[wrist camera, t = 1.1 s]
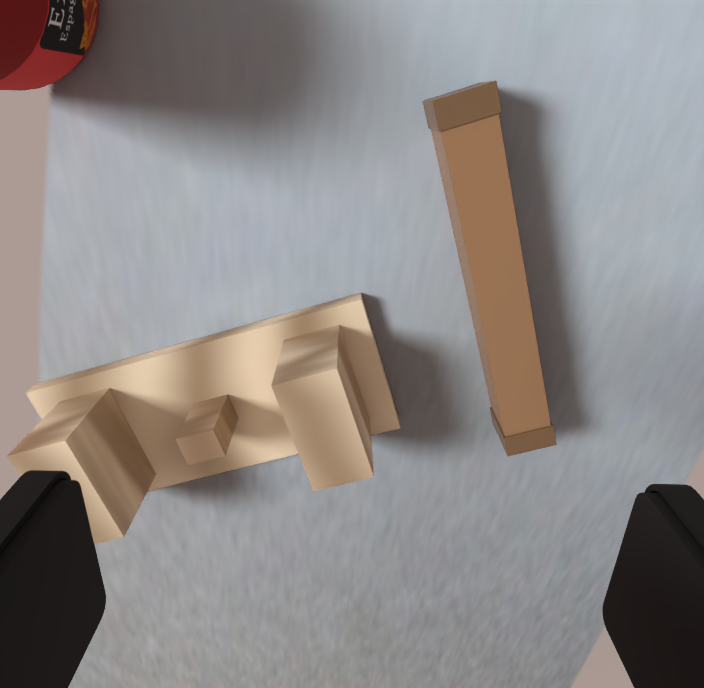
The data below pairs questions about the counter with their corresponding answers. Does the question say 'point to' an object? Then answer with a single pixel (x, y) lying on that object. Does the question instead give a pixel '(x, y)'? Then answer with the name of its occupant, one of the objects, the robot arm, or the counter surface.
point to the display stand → (216, 411)
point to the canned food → (43, 40)
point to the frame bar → (491, 261)
